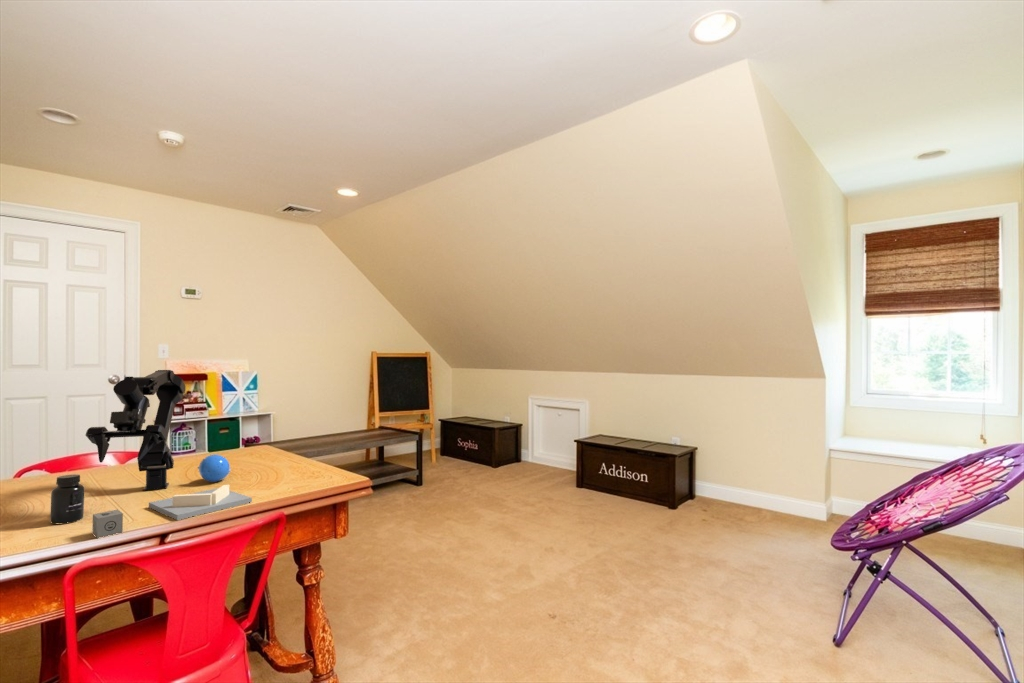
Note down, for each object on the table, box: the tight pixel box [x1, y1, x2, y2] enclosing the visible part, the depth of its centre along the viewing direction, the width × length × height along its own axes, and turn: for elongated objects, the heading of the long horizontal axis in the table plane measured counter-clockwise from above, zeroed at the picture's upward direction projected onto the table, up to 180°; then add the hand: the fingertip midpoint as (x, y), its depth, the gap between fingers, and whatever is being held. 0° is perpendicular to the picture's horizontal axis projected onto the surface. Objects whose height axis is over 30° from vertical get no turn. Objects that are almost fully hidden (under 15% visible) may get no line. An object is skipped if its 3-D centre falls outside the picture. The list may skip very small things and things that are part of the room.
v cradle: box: [148, 484, 253, 521], centre depth 151 cm, size 20×20×4 cm
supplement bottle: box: [49, 473, 85, 524], centre depth 137 cm, size 7×7×12 cm
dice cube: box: [91, 509, 124, 539], centre depth 127 cm, size 5×5×5 cm
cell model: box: [197, 454, 232, 483], centre depth 179 cm, size 10×12×10 cm
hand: (119, 460), depth 144 cm, fingers open, 9 cm apart
